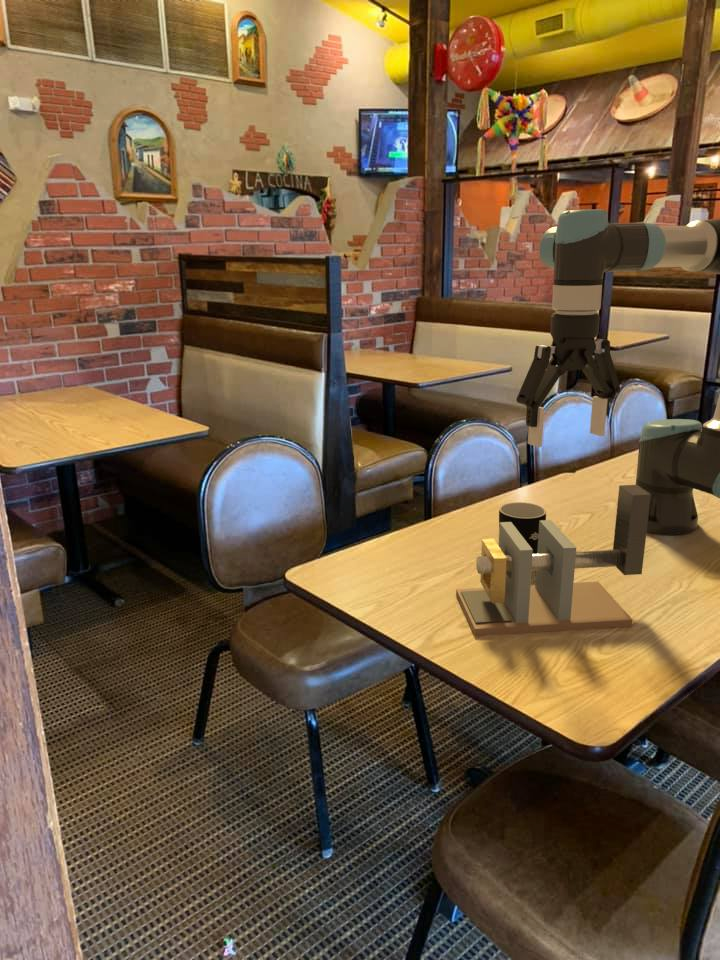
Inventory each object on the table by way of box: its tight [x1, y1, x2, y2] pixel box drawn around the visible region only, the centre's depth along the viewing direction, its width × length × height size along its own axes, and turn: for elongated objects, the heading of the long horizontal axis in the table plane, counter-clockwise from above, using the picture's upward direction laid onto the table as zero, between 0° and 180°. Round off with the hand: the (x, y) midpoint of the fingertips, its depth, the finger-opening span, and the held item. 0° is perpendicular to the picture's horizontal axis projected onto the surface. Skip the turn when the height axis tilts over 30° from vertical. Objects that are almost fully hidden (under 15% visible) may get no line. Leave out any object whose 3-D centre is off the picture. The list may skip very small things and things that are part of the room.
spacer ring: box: [479, 538, 507, 604], centre depth 120 cm, size 2×8×8 cm, turn 5°
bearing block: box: [455, 519, 634, 636], centre depth 121 cm, size 26×14×14 cm, turn 95°
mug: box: [498, 501, 547, 554], centre depth 143 cm, size 12×9×10 cm
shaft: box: [476, 484, 651, 576], centre depth 119 cm, size 27×5×14 cm, turn 95°
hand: (566, 439), depth 122 cm, fingers open, 13 cm apart
